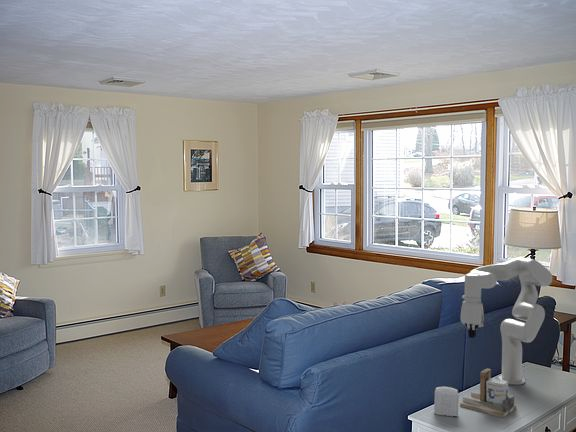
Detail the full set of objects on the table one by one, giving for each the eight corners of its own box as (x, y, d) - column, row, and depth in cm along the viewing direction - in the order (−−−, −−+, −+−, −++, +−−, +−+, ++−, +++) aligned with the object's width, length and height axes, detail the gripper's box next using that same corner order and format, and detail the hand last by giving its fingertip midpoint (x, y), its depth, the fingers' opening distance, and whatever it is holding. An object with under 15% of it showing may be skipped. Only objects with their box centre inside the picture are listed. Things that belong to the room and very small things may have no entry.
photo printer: (458, 413, 269) (458, 386, 268) (458, 417, 265) (458, 390, 264) (434, 411, 272) (434, 384, 271) (433, 415, 268) (434, 387, 267)
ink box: (508, 406, 273) (508, 380, 272) (505, 410, 269) (505, 384, 268) (488, 402, 278) (489, 377, 277) (485, 406, 273) (486, 380, 272)
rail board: (474, 397, 288) (474, 383, 288) (516, 408, 275) (516, 394, 274) (460, 405, 278) (460, 391, 277) (502, 417, 264) (503, 403, 264)
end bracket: (486, 400, 280) (486, 368, 279) (490, 401, 279) (490, 369, 278) (479, 404, 275) (480, 371, 274) (484, 405, 274) (484, 372, 273)
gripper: (454, 298, 293) (454, 336, 295) (484, 303, 283) (483, 341, 285) (461, 296, 299) (461, 332, 300) (491, 300, 289) (490, 338, 290)
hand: (472, 337), depth 292 cm, fingers closed
